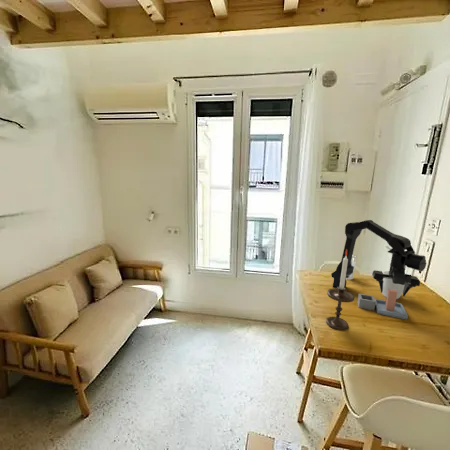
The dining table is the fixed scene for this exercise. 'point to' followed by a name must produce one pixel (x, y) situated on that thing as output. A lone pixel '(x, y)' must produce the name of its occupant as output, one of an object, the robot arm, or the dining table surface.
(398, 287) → the mug
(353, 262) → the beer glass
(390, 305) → the peg
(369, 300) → the hollow square socket
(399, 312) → the tray
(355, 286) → the dining table surface
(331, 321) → the candlestick
